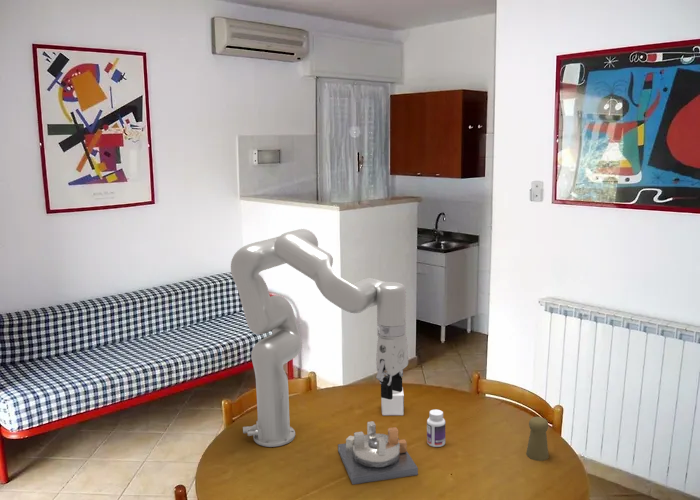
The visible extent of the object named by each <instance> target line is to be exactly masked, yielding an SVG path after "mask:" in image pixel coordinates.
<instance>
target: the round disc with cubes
mask: <svg viewBox="0 0 700 500" xmlns="http://www.w3.org/2000/svg"><path fill="white" fill-rule="evenodd" d="M376 426H377V425H376V423H375V421H374V420H373V421H372V420H371V421H367V423H366V429H367V430H366V432H367V434H365V433H364V432H363V431H355V432H353V436H354V442H353V457H354V459H355V460H356V461H357V462H358V463H360V464H362V465H365V466H369V467H384V466H389V465H391V464H394V463H395V462H396V461H397V460H398V459H399V457H400V453H405V452H408V450H407V449H408V443H407V441H406V439H404V438H403V439H399V440H398V438H399V429H398V428H397V427H396V426H395V427H394V426H393V427H388V428H387V434H385V433H376V432H377V431H376V430H377V429H376Z"/></svg>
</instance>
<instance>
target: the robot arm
mask: <svg viewBox="0 0 700 500" xmlns="http://www.w3.org/2000/svg"><path fill="white" fill-rule="evenodd" d="M333 262H334V258H333V256H332V254H330V253H329V252H327V250H324V249H323V248H320V247H319V242H318V238H317V236H316V235H315V233H313V232H312V231H310V230H309V229H306V228H300V229H296V230H291V231H288V232H284V233H283V234H281V235H279V236H275V237H272V238H268V239H264V240H260V241H256V242H253V243H252V242H251V243H249V244H247V245H244V246H242V247H240V248H238V250H237V251H236V252H234V254H233V256H232V259H231V261H230V273H231V276H232V279H233V281H234V283H235V287H236V289H237V292H238V294H239V295H238V296H239V298H240V303H241V306H242V310H243V313H244V317H245V320H246V324H247V326H248V329H249V330H250V331H251V332H252V333H253V334H254V335H263V334H267V333H269V332H272V334H270V335H268V336H266V337H264V338H262V339H260V340H259V341H257V342H256V344H255V345H254V346H253V347H252V350H251V355H250V356H251V358H250V359H251V361H252V366H253V371H254V376H255V377H254V378H255V389H256V390H255V391H256V409H257V420H256V421H255V422H256V424H253V425H251V426H249V425H248V426H242V433H243V434H247V437H250V436H252V437H253V441H254V442H255V443H256V444H257V445H259V446H262V447H266V448H267V447H268V448H272V447H273V448H275V447H276V448H277V447H281V446H284V445H287V444H290V442H292V441H293V440H294V439H295V437H296V431H295V429H294V428H293V427H292V426H290V424H291V423H290V401H289V399H290V398H289V379H288V376H287V375H288V374H286V372H285V369H284V365H286V364H287V363H288V362H289V361H291V360H293V359H295V358H296V357H297V356H299V354H300V353H301V350H302V346H303V345H302V343H303V342H302V337H301V334H300V330H299V326H298V321H297V318H296V314H295V311H294V309H293V306H292V304H291V303H290V302H289V300H288V299H287V298H285V297H284V296H282V295H277V294H276V295H270V292H269V288H268V285H267V283H266V281H265V279H264V278H263V276H261V275H260V274H259V273H261V272H263V271H266V270H269V269H273V268H275V267H278V266H282V265H284V264H287V265H288V266H290V267H291V268H293V269H295V270H296V271H298V272H300V273H301V274H303V275H304V276H306V277H307V278H309V279H310V280H312V281H314V284H315V285H316V288H317V289H318V290H319V291H320V293H321V295H322V296H323V297H324V298H325V299H326V300H327V301H329V303H332V304H333V305H335V306H336V307H338V308H340V309H341V310H343V311H346V312H348V313H350V314H360V313H362V312H364V311H366V310H368V309H369V308H372V307H376V334H377V337H378V338H377V344H376V362H375V363H376V372H377V373H376V376H375V377H376V379H377V380H378V381H379V384H380V398H381V397H382V398H385V399H390V400H391V399H392V398H393V390H394V391H398V392H401V391H402V387H403V377H404V369H405V368H407V366H408V365H409V349H408V347H409V344H408V337H407V333H406V332H407V329H406V328H407V327H406V326H407V323H406V321H407V319H406V318H407V315H406V314H407V308H406V306H407V305H406V303H407V302H406V301H407V300H406V299H407V298H406V297H407V295H406V293H407V292H406V289H407V288H406V286H405V285H404V283H401V282H398V281H397V282H396V281H384V280H380V279H377V278H374V277H366V278H363V279H361V280H358V281H357V282H354V283H351V282H349V281H347V280H345V279H344V278H342V277H341V276H340V275H338V274H337V273H336V272H335V271H334V270H333V268H332V266H333V264H334V263H333ZM385 376H388V379H387V378H385Z"/></svg>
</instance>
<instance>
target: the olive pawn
mask: <svg viewBox="0 0 700 500" xmlns="http://www.w3.org/2000/svg"><path fill="white" fill-rule="evenodd" d="M528 426H529V429H530V432H529V437H528V442H527V447H526V452H525V453H526V456H527V458H529V459H531V460H533V461H539V462H544V461H546V460H548V459H549V457H550V456H549V447H548V439H547V438H548V437H547V431H548V430H549V422H548V420H547V419H546V418H544V417H541V416H533V417H531V418H530V419H529V422H528Z"/></svg>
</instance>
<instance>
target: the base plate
mask: <svg viewBox="0 0 700 500" xmlns="http://www.w3.org/2000/svg"><path fill="white" fill-rule="evenodd" d="M398 440H400V439H399V437H398ZM353 442H354V435H348V437H346V438H345V443H339V444H337V451H338V454H339V456H340V459H341V461H342V463H343V465H344V468H345V470H346V472H347V475H348V477H349V480H350V482H351V484H352V485H358V484H359V485H360V484H365V483H372V482H379V481H386V480H391V479H399V478H406V477H412V476H418V475H419V468H418V466H417V464H416V463H415V461H414V460H413V458H412V456H411V455H410V454H409V452H408V451H407V452H405V453H400V457H399V459H398V460H397V461H396V462H395V463H394V464H391V465H389V466H384V467H369V466H365V465H362V464H360V463H358V462H357V461H356V460H355V459H354V457H353Z"/></svg>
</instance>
